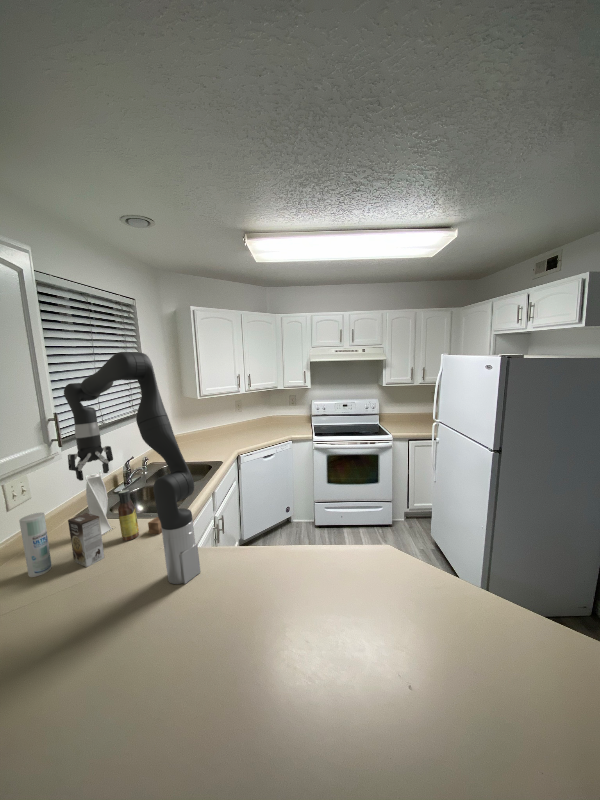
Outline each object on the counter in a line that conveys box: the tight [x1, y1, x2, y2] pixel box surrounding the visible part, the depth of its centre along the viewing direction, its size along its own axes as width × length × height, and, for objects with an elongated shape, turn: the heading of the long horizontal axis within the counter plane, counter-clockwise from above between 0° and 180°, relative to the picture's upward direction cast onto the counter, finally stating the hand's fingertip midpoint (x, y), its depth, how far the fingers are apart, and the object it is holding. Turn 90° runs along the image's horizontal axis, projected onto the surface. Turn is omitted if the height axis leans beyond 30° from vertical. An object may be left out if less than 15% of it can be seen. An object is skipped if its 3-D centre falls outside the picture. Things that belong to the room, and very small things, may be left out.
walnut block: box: [147, 516, 162, 535], centre depth 126 cm, size 5×5×5 cm
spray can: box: [19, 512, 52, 578], centre depth 103 cm, size 6×6×20 cm
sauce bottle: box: [117, 489, 140, 542], centre depth 122 cm, size 7×6×20 cm
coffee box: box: [67, 512, 105, 568], centre depth 108 cm, size 9×6×16 cm
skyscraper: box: [85, 469, 114, 536], centre depth 129 cm, size 8×8×28 cm
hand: (93, 476), depth 113 cm, fingers open, 8 cm apart
